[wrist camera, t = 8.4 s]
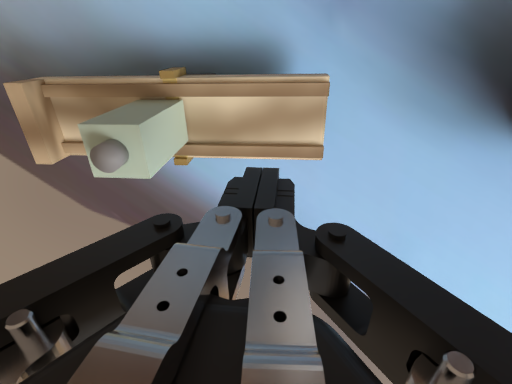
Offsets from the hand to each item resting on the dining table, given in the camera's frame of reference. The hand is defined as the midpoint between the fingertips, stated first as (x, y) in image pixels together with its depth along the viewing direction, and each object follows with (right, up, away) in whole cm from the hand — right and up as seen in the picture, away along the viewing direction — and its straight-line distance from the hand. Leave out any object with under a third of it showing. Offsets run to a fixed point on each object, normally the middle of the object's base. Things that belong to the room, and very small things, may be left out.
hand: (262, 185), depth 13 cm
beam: (-7, +9, +17) cm, 20 cm away
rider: (-9, +6, +12) cm, 16 cm away
